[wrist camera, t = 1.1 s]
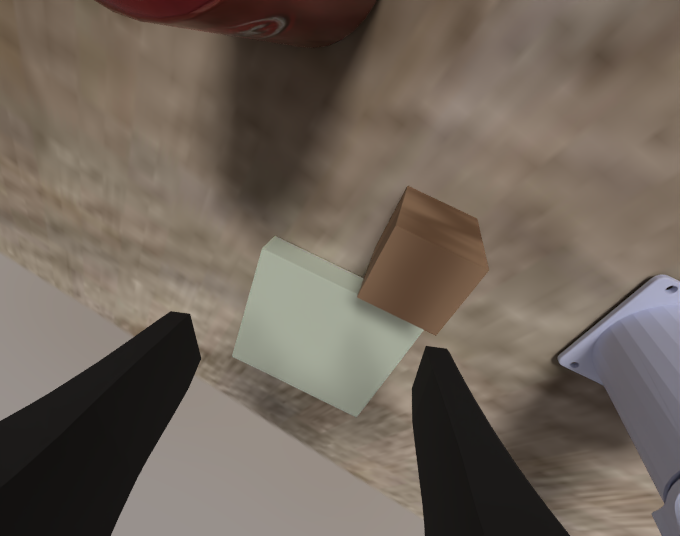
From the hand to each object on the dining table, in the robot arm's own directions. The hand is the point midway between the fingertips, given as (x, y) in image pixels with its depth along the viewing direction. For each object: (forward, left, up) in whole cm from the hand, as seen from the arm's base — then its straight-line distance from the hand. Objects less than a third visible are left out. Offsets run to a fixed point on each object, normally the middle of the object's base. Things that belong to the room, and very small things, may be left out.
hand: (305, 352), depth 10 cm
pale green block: (0, +11, -13) cm, 17 cm away
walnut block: (-3, 0, -13) cm, 13 cm away
